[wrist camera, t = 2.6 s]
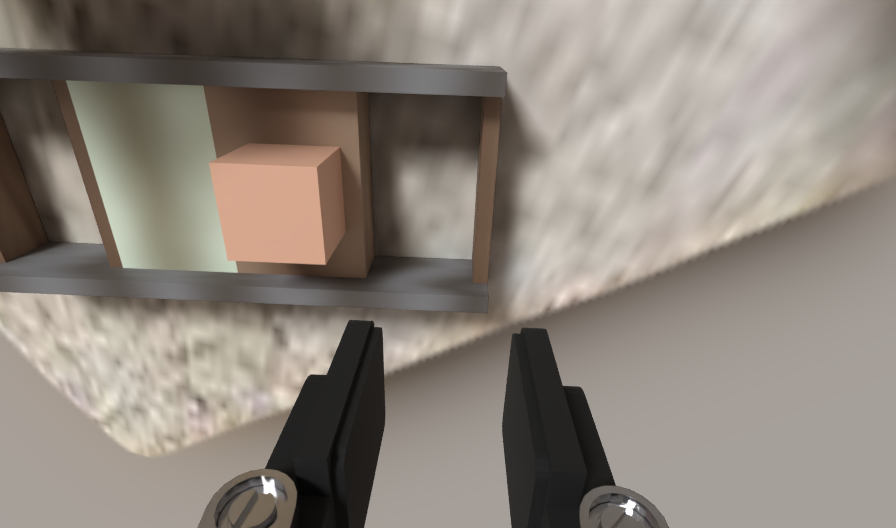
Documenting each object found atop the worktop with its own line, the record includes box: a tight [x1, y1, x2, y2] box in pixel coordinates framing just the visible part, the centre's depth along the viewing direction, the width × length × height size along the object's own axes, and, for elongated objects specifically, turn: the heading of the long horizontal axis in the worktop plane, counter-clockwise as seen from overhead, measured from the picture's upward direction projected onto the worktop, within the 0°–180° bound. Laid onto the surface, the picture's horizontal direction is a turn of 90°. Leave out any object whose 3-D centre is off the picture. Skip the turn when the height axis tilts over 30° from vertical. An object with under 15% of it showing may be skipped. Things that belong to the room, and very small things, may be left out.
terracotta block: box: [209, 143, 346, 265], centre depth 22 cm, size 4×4×4 cm
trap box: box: [0, 48, 507, 313], centre depth 25 cm, size 28×12×4 cm, turn 88°
